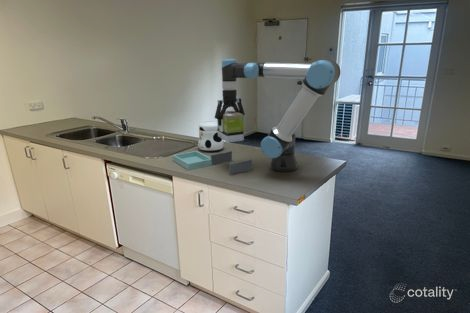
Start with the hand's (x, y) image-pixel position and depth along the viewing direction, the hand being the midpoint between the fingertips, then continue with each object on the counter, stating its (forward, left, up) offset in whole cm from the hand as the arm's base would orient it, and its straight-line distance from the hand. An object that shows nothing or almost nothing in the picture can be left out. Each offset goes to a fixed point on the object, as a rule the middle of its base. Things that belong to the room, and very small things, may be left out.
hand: (230, 129), depth 178 cm
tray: (+20, +14, -22) cm, 33 cm away
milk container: (+38, -9, -22) cm, 45 cm away
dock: (0, 0, -22) cm, 22 cm away
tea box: (0, 0, -5) cm, 5 cm away
